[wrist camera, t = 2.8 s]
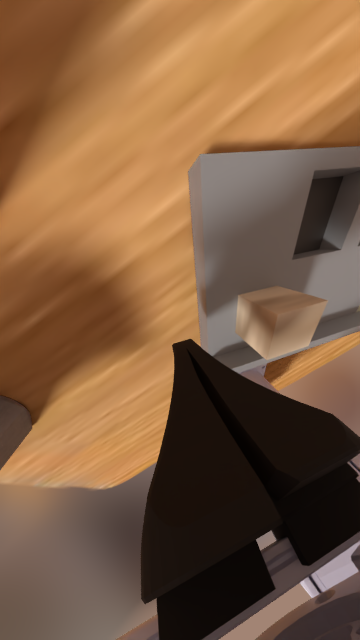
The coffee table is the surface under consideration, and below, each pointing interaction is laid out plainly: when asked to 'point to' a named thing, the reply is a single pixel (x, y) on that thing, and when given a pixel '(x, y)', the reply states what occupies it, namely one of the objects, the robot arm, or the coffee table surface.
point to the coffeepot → (12, 427)
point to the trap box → (275, 239)
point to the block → (277, 320)
